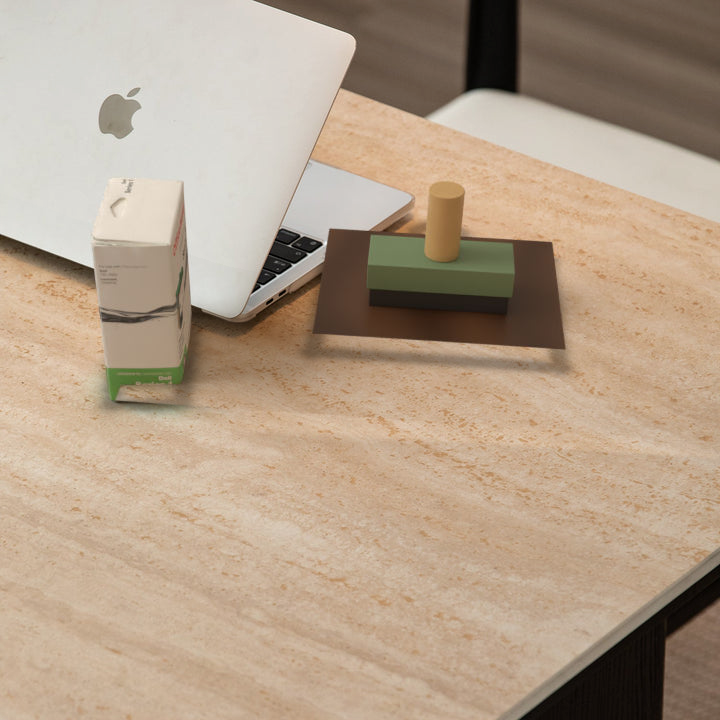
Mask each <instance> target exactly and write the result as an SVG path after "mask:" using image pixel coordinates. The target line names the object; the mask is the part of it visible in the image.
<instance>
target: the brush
mask: <svg viewBox="0 0 720 720" xmlns="http://www.w3.org/2000/svg"><path fill="white" fill-rule="evenodd" d="M465 196H466V190H465V188H464V186H463V185H461V184H459V183H457V182H454V181H450V180H449V181H448V180H442V181H436V182H433V183H432V184H430V186H429V187H428V197H427V209H426V221H425V222H426V223H425V234H426V236H425V238H415V237H399V236H383V235H371V239H370V248H369V257H368V269H367V289H370V291H369V305H370V306H385V307H401V308H417V309H433V310H449V311H465V312H480V313H496V314H507V308H508V300H509V298H512V294H513V286H514V278H515V266H514V252H513V244H512V243H497V242H481V241H464V240H460V239H461V236H462V228H463V227H462V226H463V217H464V216H463V215H464V207H465V206H464V205H465Z"/></svg>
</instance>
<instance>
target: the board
mask: <svg viewBox="0 0 720 720" xmlns="http://www.w3.org/2000/svg"><path fill="white" fill-rule="evenodd" d="M371 235H383V236H399V237H415V238H425V236H426V233H415V232H414V233H413V232H412V233H411V232H398V231H397V232H396V231H381V230H380V231H379V230H366V229H365V230H364V229H347V228H333V227H332V228H328V234H327V241H326V247H325V254H324V260H323V266H322V273H321V278H320V284H319V291H318V296H317V303H316V310H315V316H314V321H313V327H312V334H315V335H328V336H329V335H330V336H344V337H345V336H346V337H360V338H361V337H362V338H375V339H376V338H377V339H378V338H379V339H393V340H408V341H424V342H425V341H426V342H441V343H456V344H469V345H471V344H473V345H486V346H487V345H488V346H502V347H503V346H504V347H520V348H534V349H551V350H566V344H565V337H564V335H565V334H564V329H563V328H564V327H563V319H562V312H561V304H560V303H561V302H560V296H559V288H558V278H557V271H556V262H555V254H554V246H553V241H545V240H529V239H528V240H527V239H511V238H510V239H509V238H494V237H479V236H462V235H461V239H460V240H464V241H481V242H497V243H512V244H513V252H514V266H515V278H514V286H513V294H512V298H509V300H508V308H507V314H496V313H480V312H465V311H449V310H433V309H417V308H401V307H385V306H370V305H369V291H370V289H367V269H368V257H369V248H370V239H371Z"/></svg>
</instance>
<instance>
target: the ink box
mask: <svg viewBox="0 0 720 720" xmlns="http://www.w3.org/2000/svg"><path fill="white" fill-rule="evenodd" d="M106 185H107V186H106V188H105V190H104V194H103V197H102V202H101V203H100V205H99V209H98V214H97V217H96V218H95V221H94V224H93V228H92V230H91V234H90V235H91V237H92V238H91V243H90V244H91V253H92V261H93V271H94V281H95V287H96V296H97V304H98V314H99V320H100V321H99V323H100V332H101V340H102V341H101V342H102V348H103V349H102V350H103V357H104V358H103V359H104V367H105V375H106V382H107V390H108V396H109V399H110V401H113V402H117V401H119V400H116V399H117V397H118V395H119V392H120V388H121V385H122V386H165V385H166V386H167V385H171V386H172V385H180V384H181V383H182V381H183V378H184V375H185V368H186V365H187V364H186V362H187V358H188V357H187V356H188V350H189V345H190V344H189V343H190V336H191V328H192V315H193V314H192V313H193V312H192V296H191V281H190V280H191V279H190V266H189V251H188V249H189V248H188V236H187V234H188V233H187V219H186V218H187V217H186V204H185V187H184V181H183V180H177V179H176V180H175V179H152V178H141V177H140V178H138V177H120V176H119V177H118V176H117V177H113V178H110V179H108V181H107V184H106Z"/></svg>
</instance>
